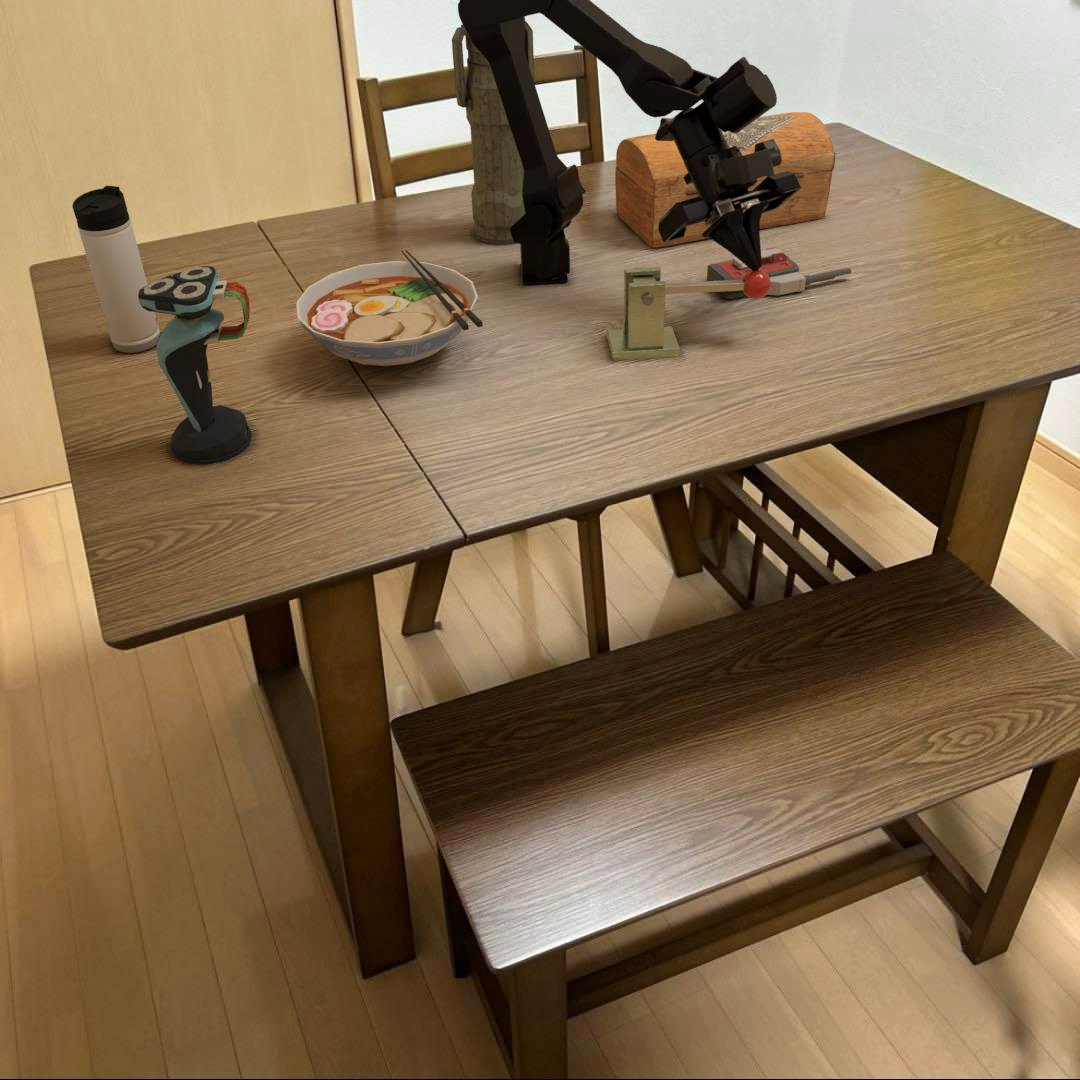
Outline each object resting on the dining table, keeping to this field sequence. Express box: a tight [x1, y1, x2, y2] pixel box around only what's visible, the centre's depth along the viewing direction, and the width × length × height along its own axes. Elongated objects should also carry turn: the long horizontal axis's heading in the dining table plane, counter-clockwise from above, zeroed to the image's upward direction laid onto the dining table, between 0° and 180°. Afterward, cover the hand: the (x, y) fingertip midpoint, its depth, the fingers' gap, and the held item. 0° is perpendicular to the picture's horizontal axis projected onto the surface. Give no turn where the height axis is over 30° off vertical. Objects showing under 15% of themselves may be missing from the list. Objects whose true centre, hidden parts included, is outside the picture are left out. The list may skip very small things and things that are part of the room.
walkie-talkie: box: [706, 247, 852, 300], centre depth 157 cm, size 9×4×20 cm
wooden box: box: [614, 111, 836, 248], centre depth 173 cm, size 30×16×14 cm, turn 109°
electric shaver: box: [138, 265, 253, 465], centre depth 124 cm, size 9×12×20 cm
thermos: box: [451, 20, 535, 245], centre depth 164 cm, size 9×12×35 cm
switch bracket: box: [606, 266, 681, 361], centre depth 141 cm, size 8×6×10 cm
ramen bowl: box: [295, 249, 483, 367], centre depth 143 cm, size 25×23×8 cm
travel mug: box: [71, 185, 161, 354], centre depth 143 cm, size 6×7×20 cm
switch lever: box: [632, 269, 771, 300], centre depth 140 cm, size 17×4×4 cm, turn 94°
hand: (757, 268), depth 139 cm, fingers closed, pressing on switch lever
